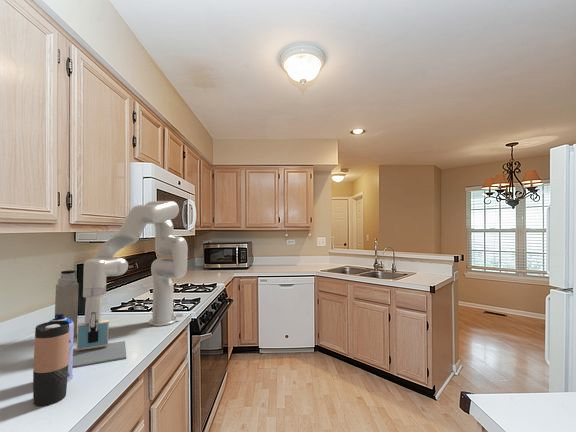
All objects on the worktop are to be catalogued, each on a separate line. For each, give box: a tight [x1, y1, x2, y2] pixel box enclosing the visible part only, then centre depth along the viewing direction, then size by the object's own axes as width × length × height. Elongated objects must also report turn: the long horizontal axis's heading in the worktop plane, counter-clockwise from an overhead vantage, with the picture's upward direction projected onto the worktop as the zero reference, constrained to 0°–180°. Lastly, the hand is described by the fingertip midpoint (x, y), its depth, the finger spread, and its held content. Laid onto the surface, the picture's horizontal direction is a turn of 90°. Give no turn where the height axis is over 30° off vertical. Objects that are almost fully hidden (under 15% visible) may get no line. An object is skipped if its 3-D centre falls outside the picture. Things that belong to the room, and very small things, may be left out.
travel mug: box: [32, 321, 69, 407], centre depth 86 cm, size 8×8×20 cm
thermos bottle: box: [54, 269, 79, 338], centre depth 134 cm, size 8×8×28 cm
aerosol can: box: [48, 313, 74, 383], centre depth 96 cm, size 8×8×20 cm
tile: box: [76, 319, 110, 350], centre depth 119 cm, size 10×3×9 cm, turn 119°
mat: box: [72, 340, 127, 369], centre depth 115 cm, size 22×18×1 cm
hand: (93, 340), depth 119 cm, fingers closed on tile, 3 cm apart
